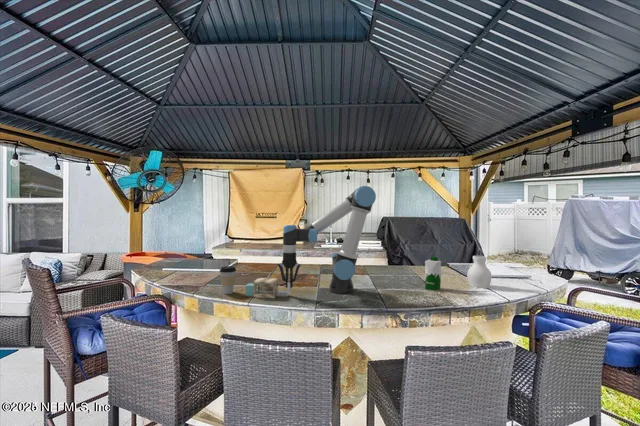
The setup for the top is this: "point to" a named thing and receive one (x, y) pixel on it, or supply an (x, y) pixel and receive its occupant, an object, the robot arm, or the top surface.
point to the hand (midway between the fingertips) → (289, 293)
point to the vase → (479, 273)
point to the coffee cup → (227, 279)
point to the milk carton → (432, 274)
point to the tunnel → (266, 287)
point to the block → (250, 289)
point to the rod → (277, 293)
